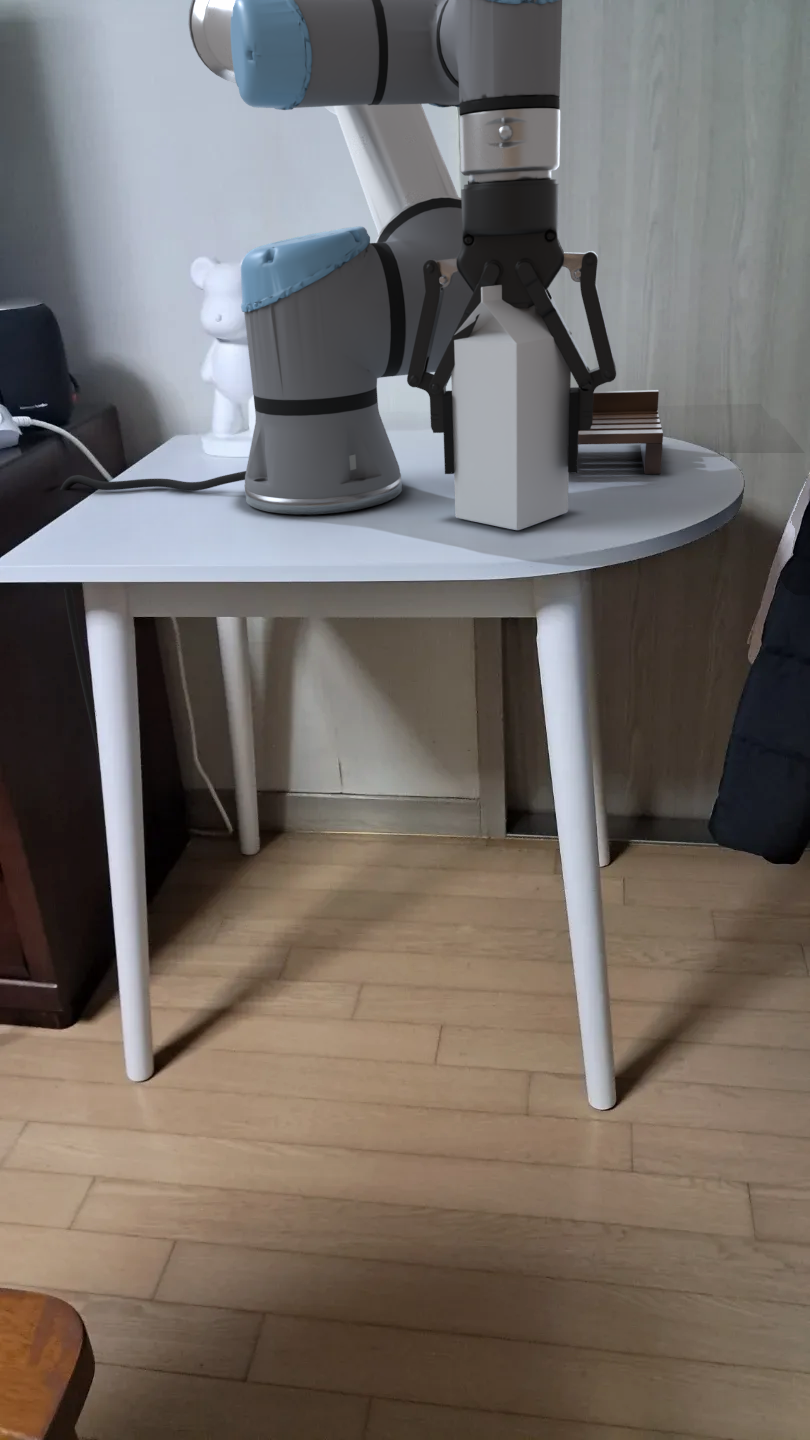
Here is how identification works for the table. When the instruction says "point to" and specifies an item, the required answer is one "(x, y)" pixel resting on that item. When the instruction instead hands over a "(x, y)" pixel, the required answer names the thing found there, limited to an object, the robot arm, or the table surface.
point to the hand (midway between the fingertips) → (511, 469)
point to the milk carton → (509, 417)
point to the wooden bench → (627, 424)
